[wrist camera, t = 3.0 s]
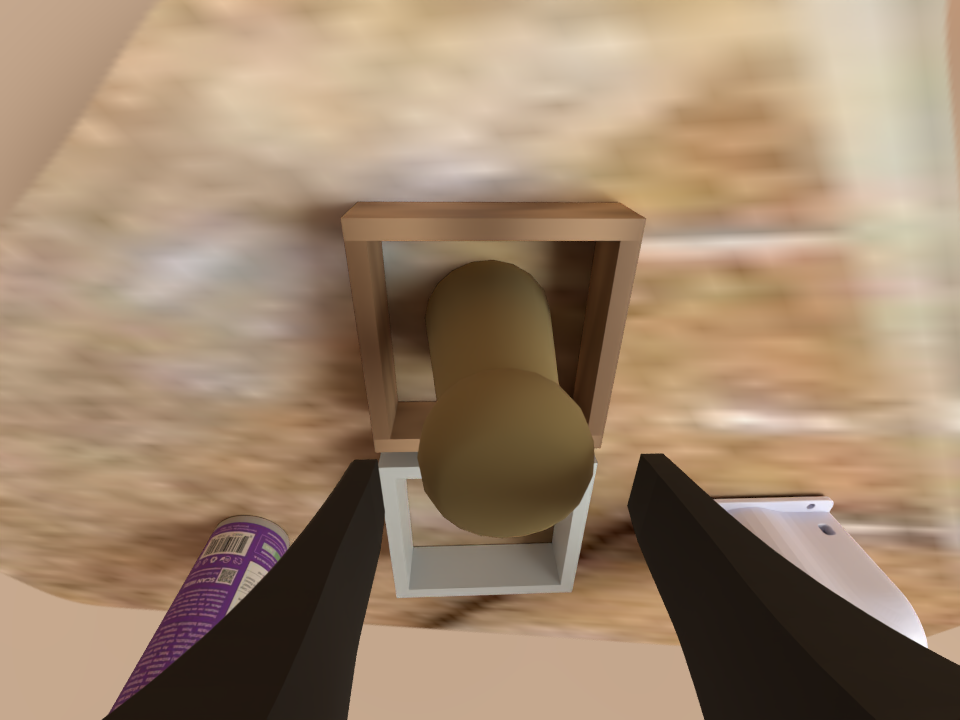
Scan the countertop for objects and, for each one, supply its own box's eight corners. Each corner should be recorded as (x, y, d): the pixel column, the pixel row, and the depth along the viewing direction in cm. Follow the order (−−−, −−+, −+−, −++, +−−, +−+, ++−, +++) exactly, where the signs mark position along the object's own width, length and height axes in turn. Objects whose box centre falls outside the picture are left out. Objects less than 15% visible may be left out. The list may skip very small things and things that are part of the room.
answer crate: (583, 425, 24) (597, 463, 22) (562, 550, 30) (572, 592, 27) (386, 428, 24) (377, 467, 21) (402, 554, 30) (396, 597, 27)
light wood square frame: (620, 202, 18) (646, 218, 16) (585, 411, 24) (600, 448, 21) (357, 201, 18) (340, 218, 15) (384, 414, 24) (375, 452, 21)
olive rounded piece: (408, 278, 20) (360, 439, 10) (538, 245, 19) (615, 381, 10) (445, 385, 23) (435, 585, 13) (558, 359, 22) (633, 547, 13)
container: (205, 548, 28) (-6, 916, 16) (226, 505, 27) (6, 885, 14) (275, 569, 30) (136, 923, 17) (300, 530, 28) (165, 895, 15)
